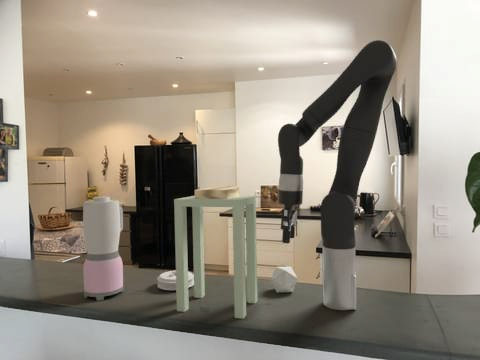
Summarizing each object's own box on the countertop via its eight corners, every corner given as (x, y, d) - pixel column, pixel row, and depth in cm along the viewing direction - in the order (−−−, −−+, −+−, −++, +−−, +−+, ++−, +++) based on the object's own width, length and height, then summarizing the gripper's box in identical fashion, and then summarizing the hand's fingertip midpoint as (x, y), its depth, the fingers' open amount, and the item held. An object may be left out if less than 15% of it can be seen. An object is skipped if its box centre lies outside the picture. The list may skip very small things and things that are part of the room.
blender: (103, 303, 112) (100, 198, 111) (74, 298, 117) (71, 198, 116) (138, 287, 127) (135, 195, 126) (111, 283, 132) (108, 194, 131)
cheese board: (248, 193, 121) (248, 186, 121) (227, 198, 102) (227, 189, 102) (220, 193, 124) (220, 186, 124) (194, 198, 105) (194, 189, 105)
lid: (199, 289, 124) (198, 274, 124) (162, 295, 119) (161, 280, 119) (188, 279, 136) (188, 266, 136) (154, 284, 130) (153, 270, 130)
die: (290, 299, 114) (304, 272, 117) (266, 284, 116) (280, 258, 119) (287, 299, 122) (300, 274, 125) (264, 286, 123) (278, 261, 126)
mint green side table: (257, 300, 112) (255, 195, 111) (243, 318, 99) (241, 199, 98) (197, 294, 118) (195, 195, 117) (176, 310, 105) (174, 199, 104)
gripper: (299, 191, 106) (296, 246, 107) (305, 188, 120) (303, 237, 121) (273, 189, 109) (271, 243, 110) (283, 187, 122) (281, 235, 123)
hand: (288, 240), depth 115 cm, fingers open, 8 cm apart
